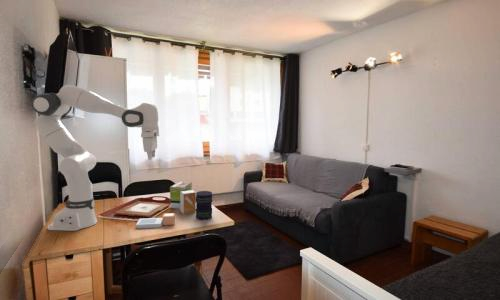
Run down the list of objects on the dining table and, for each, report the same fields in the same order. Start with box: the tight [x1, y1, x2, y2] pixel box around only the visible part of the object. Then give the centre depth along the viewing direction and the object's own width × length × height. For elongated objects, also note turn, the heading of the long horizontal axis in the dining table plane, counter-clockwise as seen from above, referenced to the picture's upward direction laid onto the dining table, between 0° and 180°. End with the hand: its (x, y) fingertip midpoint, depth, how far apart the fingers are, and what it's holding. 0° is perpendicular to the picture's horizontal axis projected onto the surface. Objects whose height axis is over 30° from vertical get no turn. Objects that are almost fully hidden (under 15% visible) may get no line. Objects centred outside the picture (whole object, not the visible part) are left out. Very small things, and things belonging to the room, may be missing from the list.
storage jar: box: [195, 190, 213, 221], centre depth 162 cm, size 10×10×15 cm
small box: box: [179, 189, 196, 215], centre depth 171 cm, size 8×6×13 cm
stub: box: [162, 212, 176, 226], centre depth 151 cm, size 6×5×5 cm
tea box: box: [169, 181, 193, 209], centre depth 184 cm, size 15×10×15 cm, turn 172°
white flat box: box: [135, 217, 163, 229], centre depth 150 cm, size 13×9×2 cm
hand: (151, 158), depth 149 cm, fingers open, 8 cm apart
